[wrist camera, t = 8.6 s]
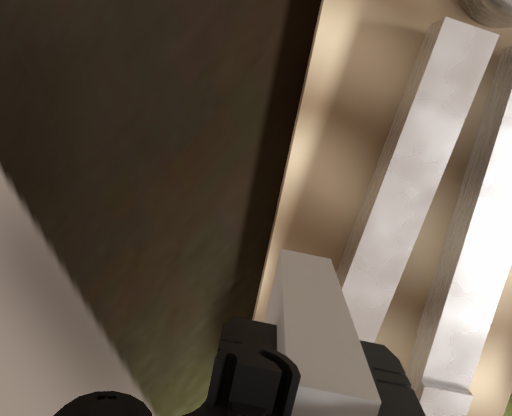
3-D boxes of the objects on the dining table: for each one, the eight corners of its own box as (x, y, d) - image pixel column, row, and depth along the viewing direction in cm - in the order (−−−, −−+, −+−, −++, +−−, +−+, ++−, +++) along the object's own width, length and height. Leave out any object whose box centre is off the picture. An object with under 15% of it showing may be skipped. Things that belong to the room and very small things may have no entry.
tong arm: (428, 24, 21) (450, 14, 19) (478, 41, 21) (505, 32, 19) (289, 397, 25) (291, 428, 23) (331, 409, 25) (338, 441, 23)
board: (369, -219, 21) (376, -243, 20) (682, -148, 22) (712, -167, 20) (239, 376, 28) (238, 392, 26) (482, 423, 28) (494, 441, 27)
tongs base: (501, -215, 20) (568, -305, 16) (619, -188, 20) (718, -270, 16) (335, 402, 26) (349, 461, 22) (425, 419, 27) (457, 481, 22)
